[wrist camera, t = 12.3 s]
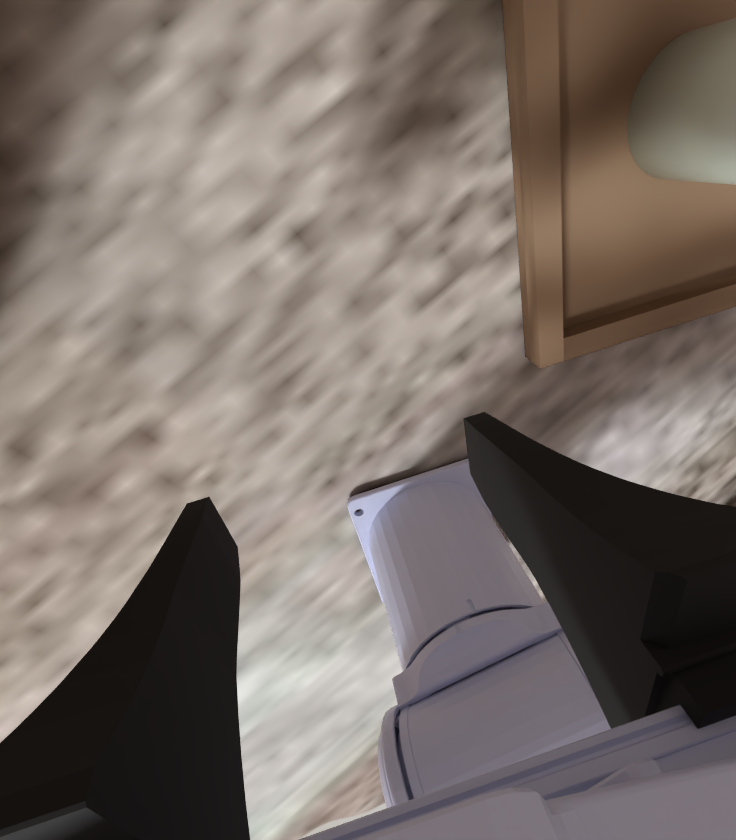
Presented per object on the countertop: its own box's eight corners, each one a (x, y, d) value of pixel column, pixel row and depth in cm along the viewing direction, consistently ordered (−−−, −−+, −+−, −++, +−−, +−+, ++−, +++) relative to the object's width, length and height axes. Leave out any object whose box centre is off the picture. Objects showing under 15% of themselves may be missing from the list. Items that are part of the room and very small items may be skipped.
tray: (780, 275, 24) (808, 283, 23) (525, 356, 24) (540, 368, 22) (915, -291, 15) (978, -332, 13) (490, -174, 14) (513, -205, 13)
